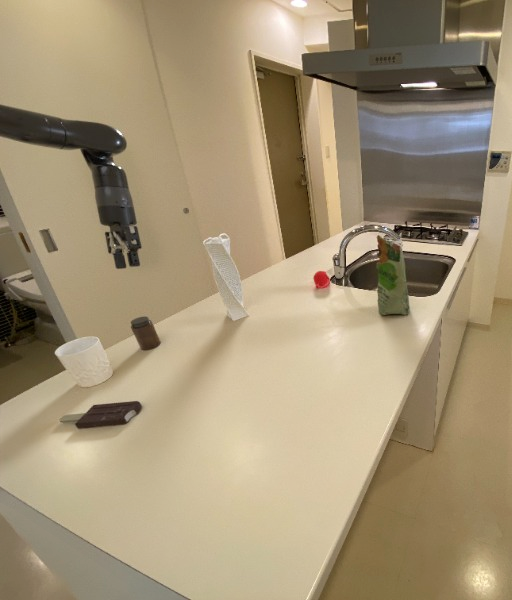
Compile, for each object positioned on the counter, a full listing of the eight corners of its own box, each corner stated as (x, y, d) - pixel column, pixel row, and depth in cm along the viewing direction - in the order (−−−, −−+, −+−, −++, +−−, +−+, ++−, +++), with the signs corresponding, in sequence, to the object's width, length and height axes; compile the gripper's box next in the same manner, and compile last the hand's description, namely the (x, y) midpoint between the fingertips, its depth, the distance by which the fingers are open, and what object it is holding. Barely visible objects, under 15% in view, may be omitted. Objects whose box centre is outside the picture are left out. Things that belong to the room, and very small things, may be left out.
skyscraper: (254, 315, 108) (233, 232, 95) (231, 324, 103) (206, 238, 90) (244, 307, 113) (222, 228, 100) (222, 315, 108) (196, 233, 95)
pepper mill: (137, 351, 91) (124, 325, 87) (146, 341, 95) (135, 316, 92) (155, 349, 92) (143, 323, 88) (164, 339, 96) (153, 315, 92)
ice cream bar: (52, 431, 67) (130, 424, 68) (48, 426, 66) (127, 418, 67) (72, 412, 71) (145, 405, 73) (68, 406, 71) (142, 400, 72)
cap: (331, 289, 125) (329, 274, 122) (316, 291, 123) (313, 277, 120) (329, 281, 132) (327, 267, 129) (313, 283, 130) (311, 269, 127)
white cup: (94, 391, 77) (74, 357, 73) (66, 387, 78) (45, 354, 74) (124, 369, 84) (107, 337, 79) (98, 366, 85) (80, 335, 81)
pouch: (405, 321, 103) (404, 245, 91) (369, 317, 105) (364, 242, 94) (413, 305, 112) (413, 234, 101) (380, 301, 115) (377, 232, 103)
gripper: (87, 210, 87) (100, 270, 89) (108, 200, 80) (122, 266, 82) (121, 212, 93) (133, 268, 95) (144, 203, 86) (156, 264, 88)
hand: (128, 267), depth 89 cm, fingers open, 8 cm apart
